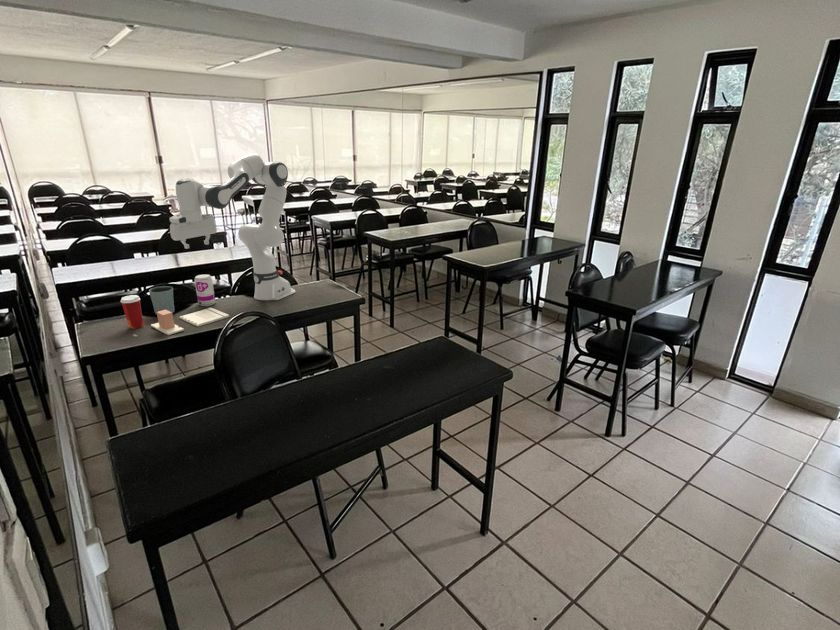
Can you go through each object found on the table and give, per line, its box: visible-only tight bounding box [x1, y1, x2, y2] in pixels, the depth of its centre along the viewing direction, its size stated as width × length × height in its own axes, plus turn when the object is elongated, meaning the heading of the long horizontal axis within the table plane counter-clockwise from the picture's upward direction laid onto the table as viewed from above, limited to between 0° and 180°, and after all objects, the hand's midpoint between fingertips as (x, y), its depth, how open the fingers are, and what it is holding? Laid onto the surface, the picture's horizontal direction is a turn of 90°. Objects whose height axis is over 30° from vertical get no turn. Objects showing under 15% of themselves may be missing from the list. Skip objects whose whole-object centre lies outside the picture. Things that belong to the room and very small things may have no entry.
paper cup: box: [119, 294, 144, 330], centre depth 208 cm, size 8×8×14 cm
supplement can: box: [194, 273, 216, 307], centre depth 236 cm, size 8×8×15 cm
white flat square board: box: [179, 307, 230, 327], centre depth 221 cm, size 16×16×1 cm
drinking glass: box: [148, 285, 175, 315], centre depth 225 cm, size 10×10×12 cm
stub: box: [150, 310, 185, 336], centre depth 206 cm, size 7×16×8 cm, turn 53°
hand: (197, 246), depth 213 cm, fingers open, 8 cm apart
